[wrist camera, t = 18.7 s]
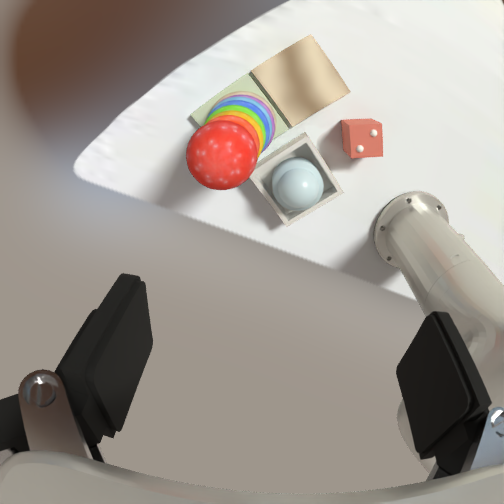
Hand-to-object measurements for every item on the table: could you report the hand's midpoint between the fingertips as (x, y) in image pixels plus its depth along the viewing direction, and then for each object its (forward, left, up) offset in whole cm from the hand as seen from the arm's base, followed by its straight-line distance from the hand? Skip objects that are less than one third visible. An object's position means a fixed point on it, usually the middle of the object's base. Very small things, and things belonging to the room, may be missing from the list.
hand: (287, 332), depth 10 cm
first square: (-3, -8, -32) cm, 33 cm away
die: (-11, -2, -32) cm, 34 cm away
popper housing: (-4, +5, -32) cm, 33 cm away
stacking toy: (+3, -1, -31) cm, 32 cm away
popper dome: (-4, +5, -31) cm, 31 cm away
